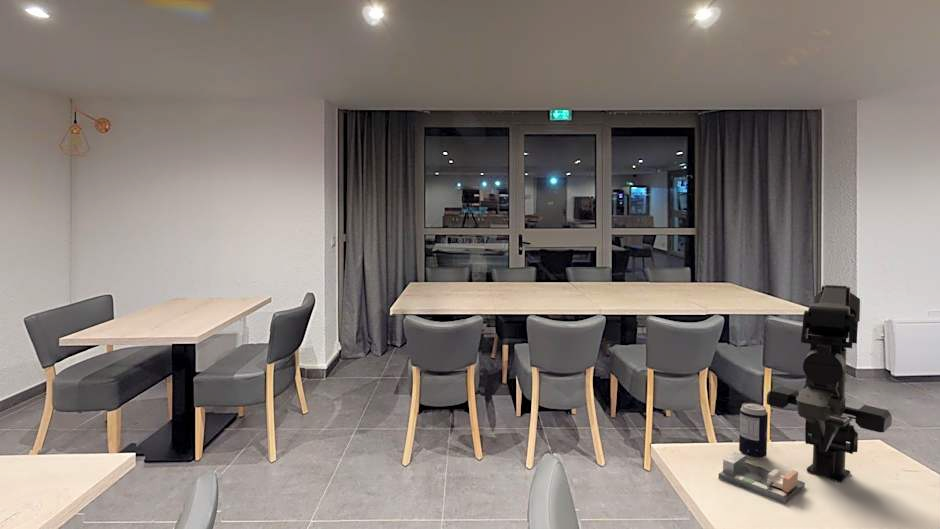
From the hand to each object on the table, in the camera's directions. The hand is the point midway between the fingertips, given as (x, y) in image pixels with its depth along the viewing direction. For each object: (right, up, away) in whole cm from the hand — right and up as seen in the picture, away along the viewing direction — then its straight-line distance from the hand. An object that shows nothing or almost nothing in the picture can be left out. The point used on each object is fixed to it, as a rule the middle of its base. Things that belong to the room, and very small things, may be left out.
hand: (823, 450), depth 94 cm
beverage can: (-1, -10, +22) cm, 24 cm away
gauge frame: (-7, -11, +9) cm, 16 cm away
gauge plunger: (-5, -9, +6) cm, 12 cm away
